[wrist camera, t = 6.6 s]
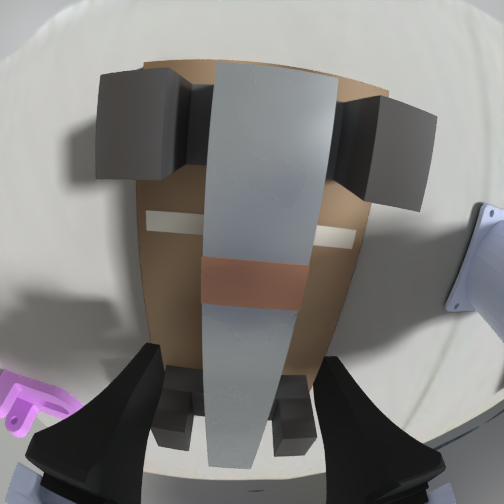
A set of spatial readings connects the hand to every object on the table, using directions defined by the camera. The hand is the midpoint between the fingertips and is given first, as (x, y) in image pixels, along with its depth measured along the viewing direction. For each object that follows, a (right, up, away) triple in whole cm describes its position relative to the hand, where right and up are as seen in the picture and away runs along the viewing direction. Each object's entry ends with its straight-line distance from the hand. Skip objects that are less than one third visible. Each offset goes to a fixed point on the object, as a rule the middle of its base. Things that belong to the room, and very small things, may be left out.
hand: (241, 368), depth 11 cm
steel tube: (0, +1, +2) cm, 2 cm away
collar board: (0, +3, +3) cm, 5 cm away
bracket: (-24, -12, +11) cm, 29 cm away
